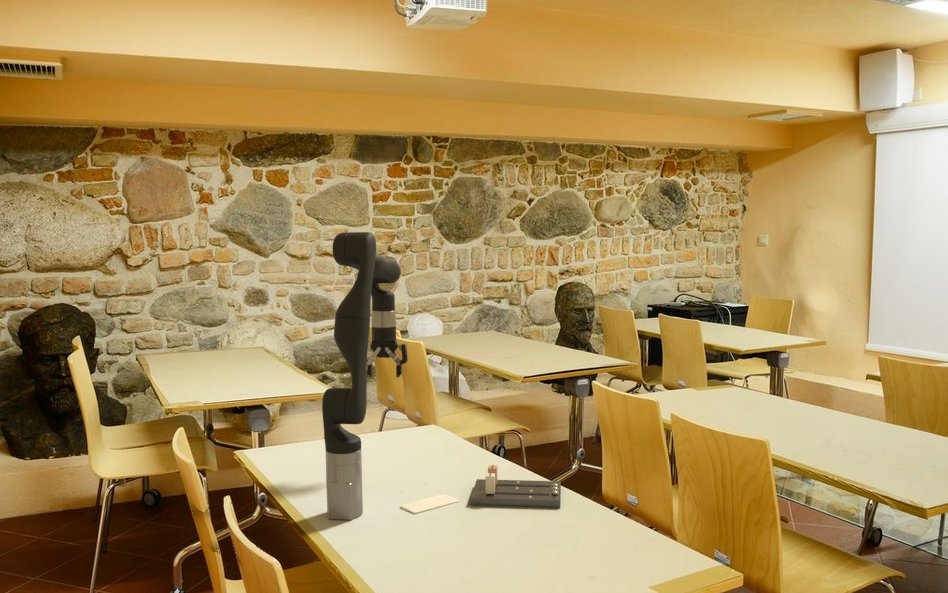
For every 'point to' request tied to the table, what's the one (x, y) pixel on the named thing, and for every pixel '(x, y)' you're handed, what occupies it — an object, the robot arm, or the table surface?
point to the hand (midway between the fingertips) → (384, 376)
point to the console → (518, 494)
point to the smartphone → (429, 504)
